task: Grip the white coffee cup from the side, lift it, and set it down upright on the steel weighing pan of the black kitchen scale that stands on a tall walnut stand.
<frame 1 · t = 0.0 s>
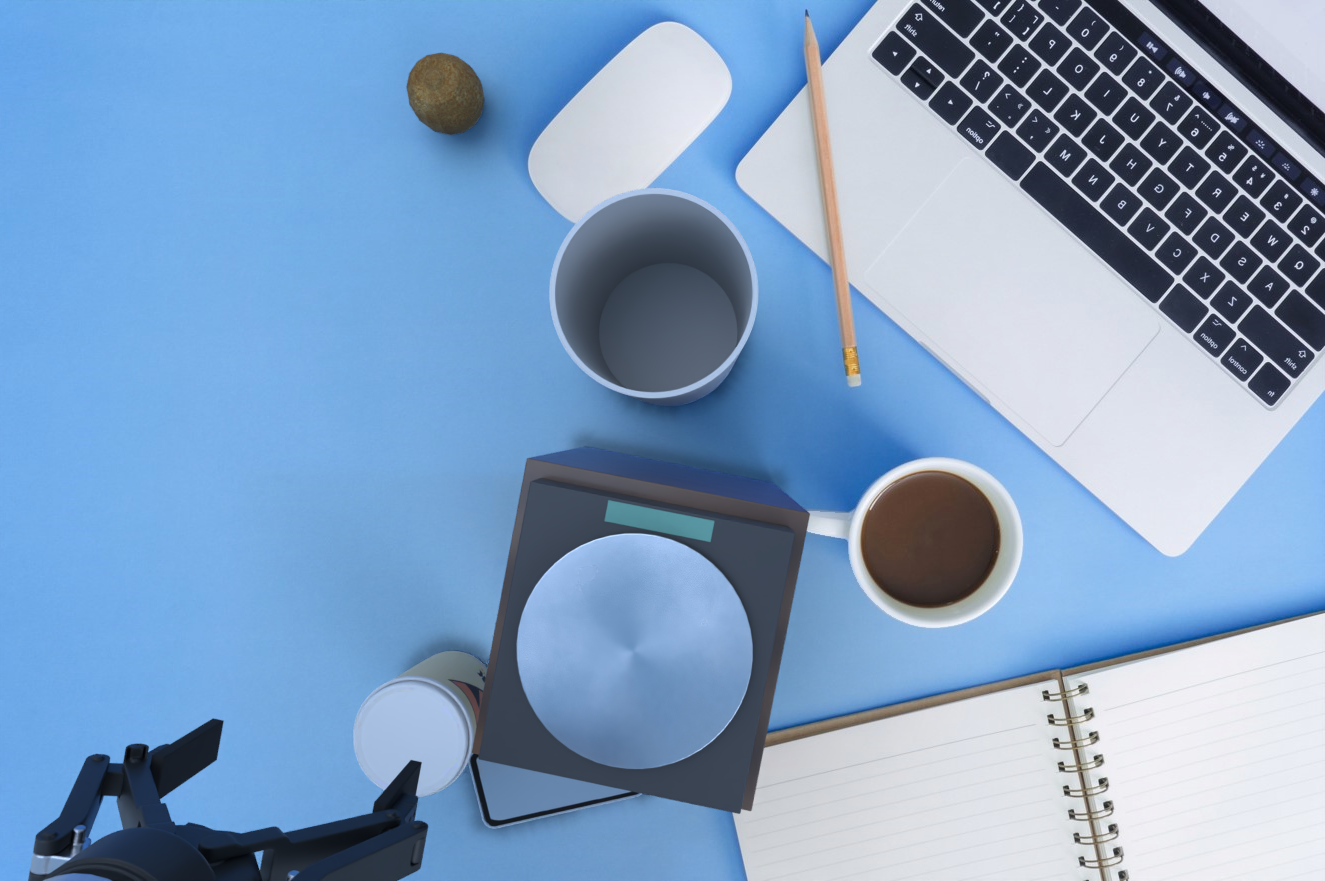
hand: (313, 759, 58), 21 cm above the table, tool pointing down, fingers open, 13 cm apart
scale pan: (634, 650, 48), point 30 cm above the table, slide at -0.3 cm
stand: (659, 563, 78), on the table
coffee cup: (454, 691, 79), on the table
fruit: (459, 112, 78), on the table
scale: (638, 634, 52), resting on stand
cylinder vase: (669, 335, 78), on the table
smartphone: (557, 768, 79), on the table
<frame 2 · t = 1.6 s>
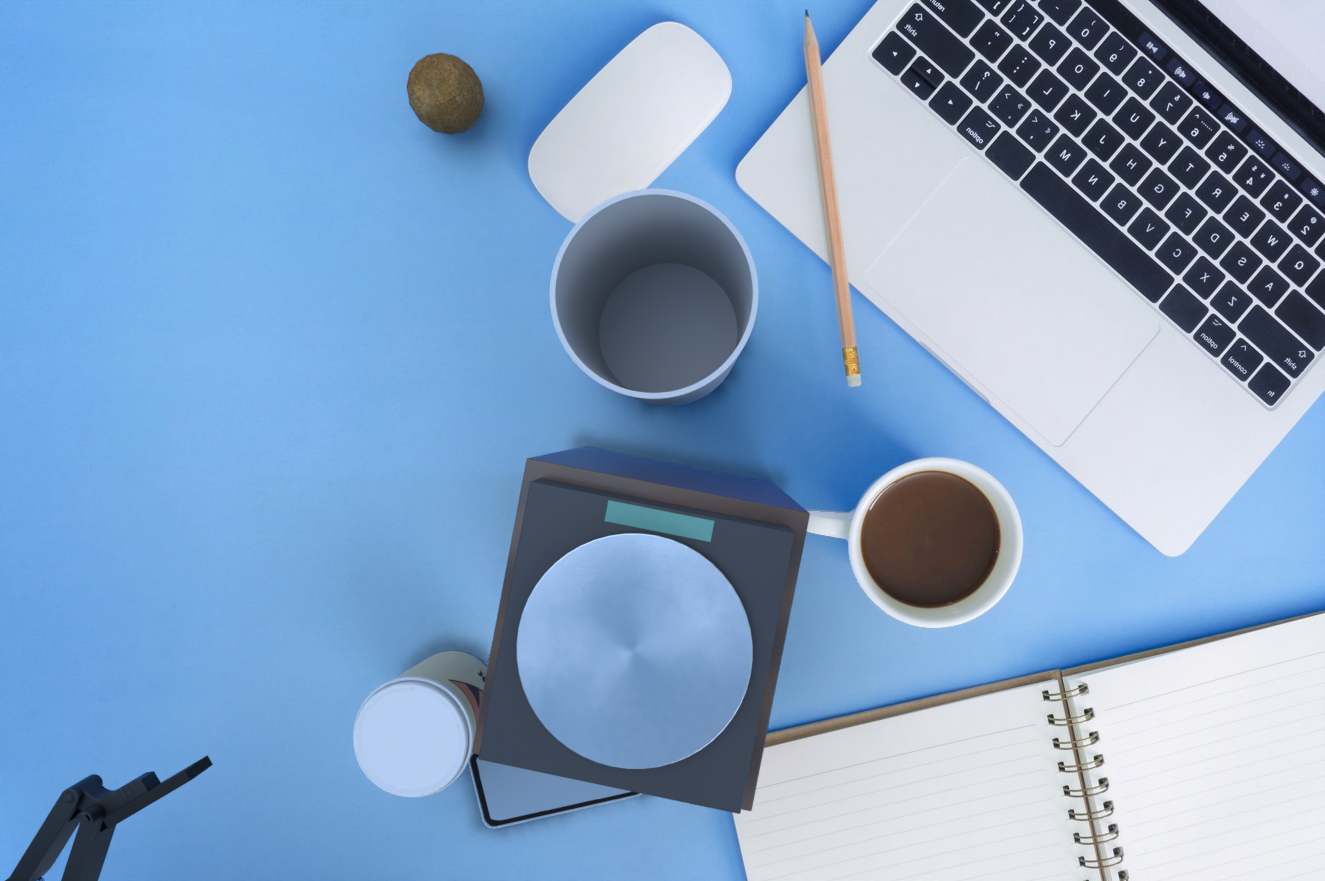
hand: (251, 854, 59), 20 cm above the table, tool horizontal, fingers open, 13 cm apart
nothing on the table moved.
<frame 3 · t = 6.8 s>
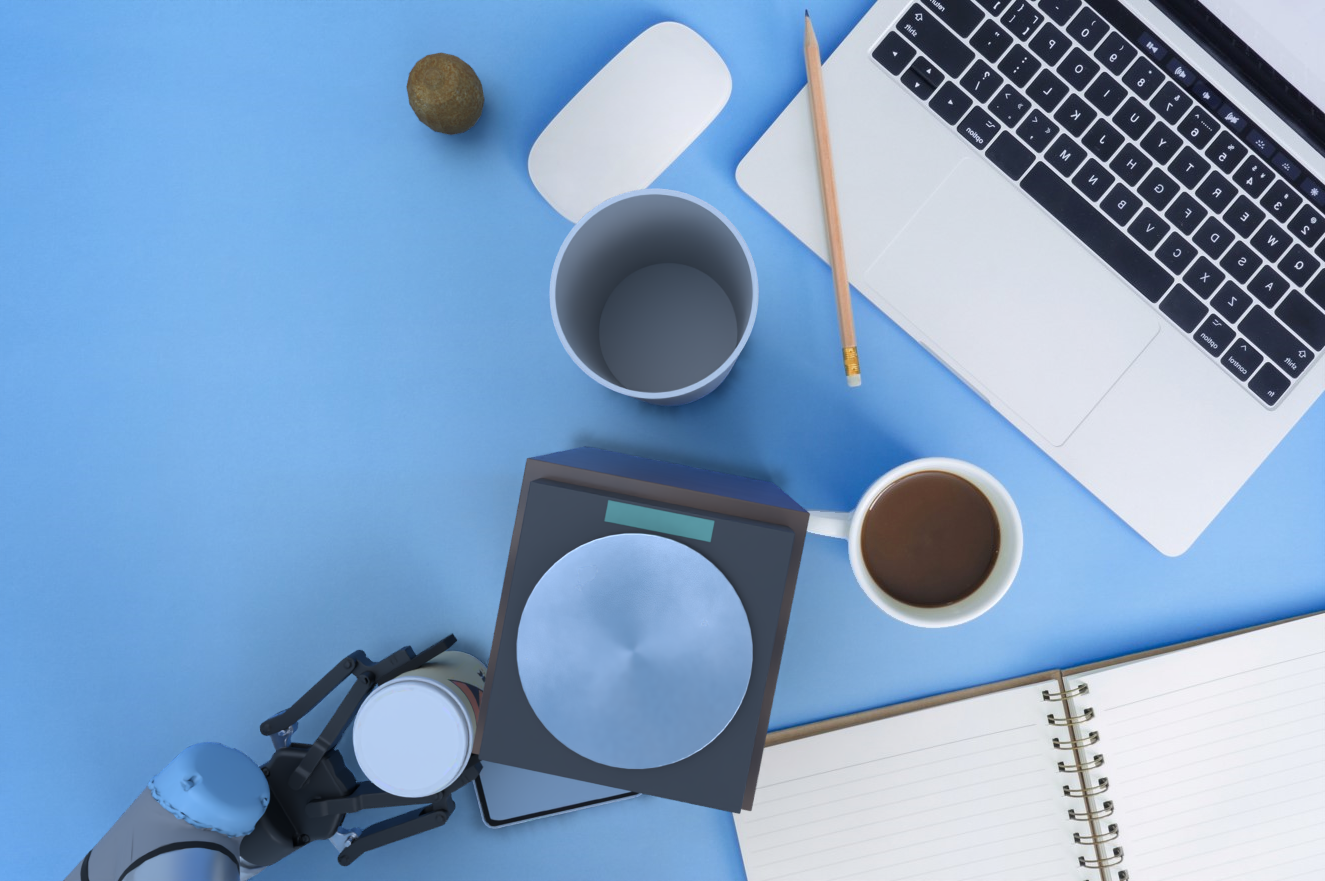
hand: (478, 688, 72), 7 cm above the table, tool horizontal, fingers closed on coffee cup, 8 cm apart
coffee cup: (454, 691, 79), on the table, touching gripper
everything else where it was.
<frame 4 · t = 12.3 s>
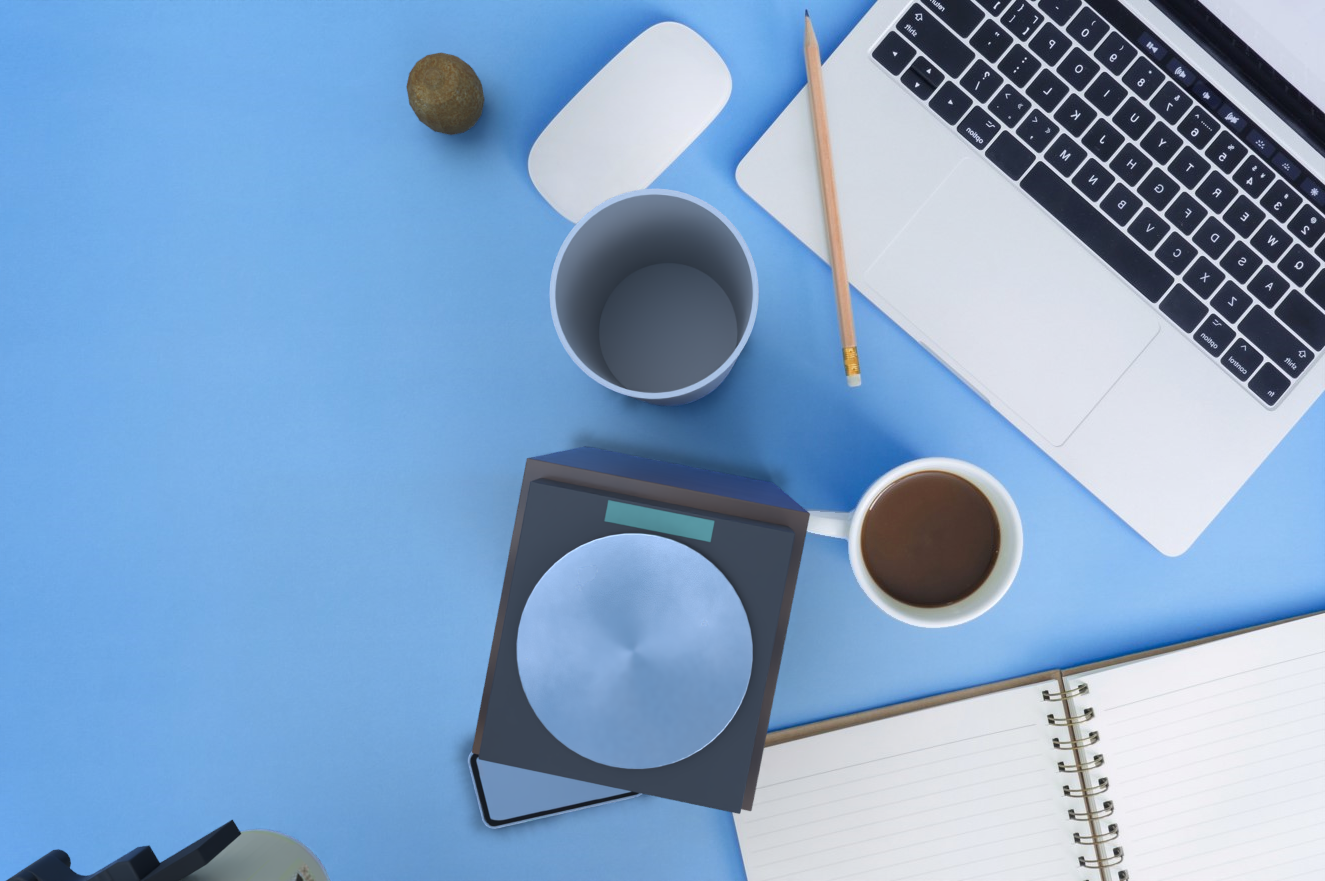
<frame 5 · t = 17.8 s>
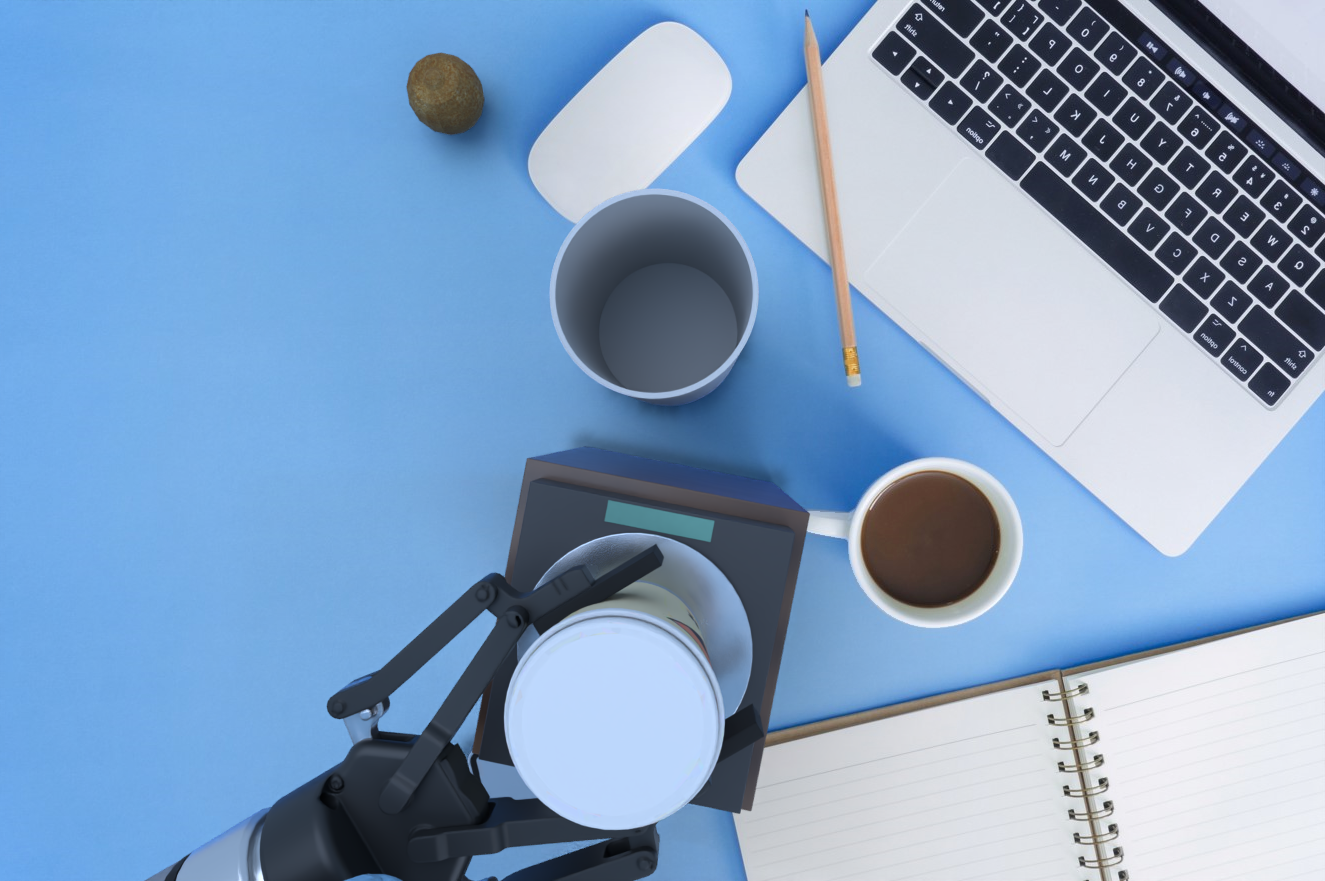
hand: (708, 636, 41), 36 cm above the table, tool horizontal, fingers closed on coffee cup, 8 cm apart
scale pan: (634, 649, 49), point 29 cm above the table, slide at -0.6 cm, touching coffee cup
coffee cup: (634, 649, 48), point 29 cm above the table, touching gripper, scale pan
everything else where it was.
when the fingers open (36 cm above the table, at t = 17.9 s): coffee cup stays where it is, resting on scale pan.
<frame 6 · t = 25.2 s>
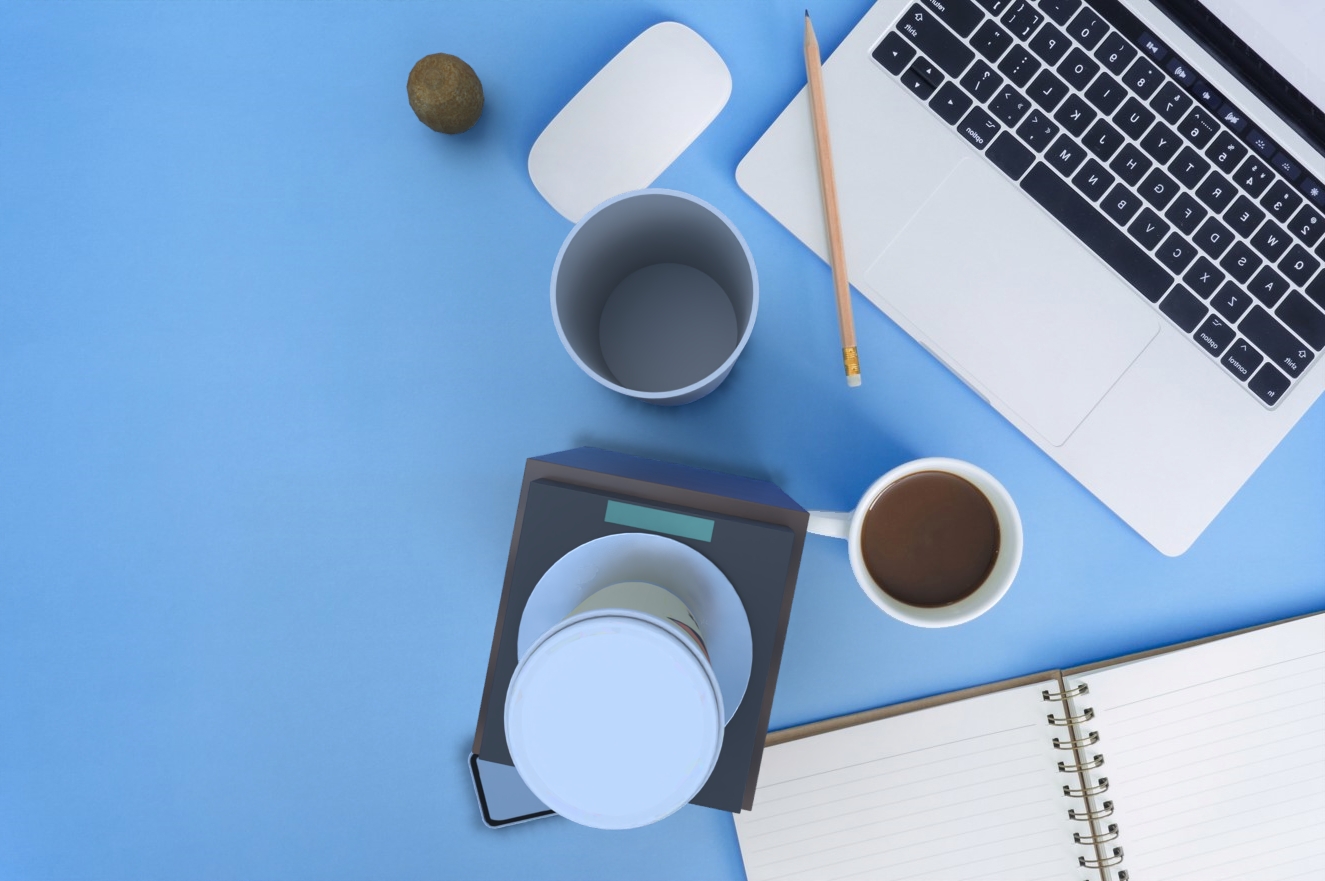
coffee cup: (634, 649, 48), point 29 cm above the table, touching scale pan
everything else where it was.
at the end: coffee cup inside the target area on the scale (0.0 cm from its centre), point 3.5 cm above the scale's base; coffee cup tilted 0°; coffee cup touching scale pan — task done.
